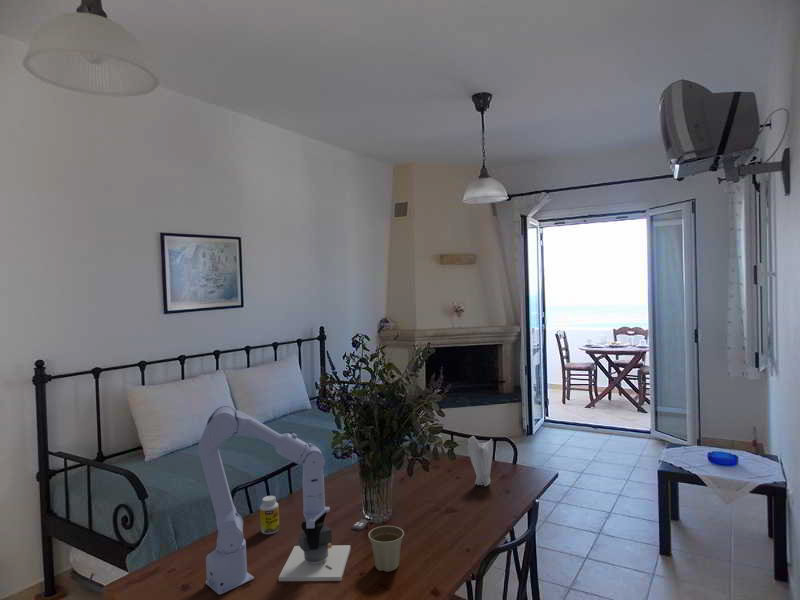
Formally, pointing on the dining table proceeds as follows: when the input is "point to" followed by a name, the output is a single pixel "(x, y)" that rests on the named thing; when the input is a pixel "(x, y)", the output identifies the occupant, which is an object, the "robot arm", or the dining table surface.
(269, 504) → the supplement bottle
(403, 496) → the dining table surface
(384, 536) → the flower pot
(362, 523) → the key chain
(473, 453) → the white vase
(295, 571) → the post base
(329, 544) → the dark grey blocky piece
